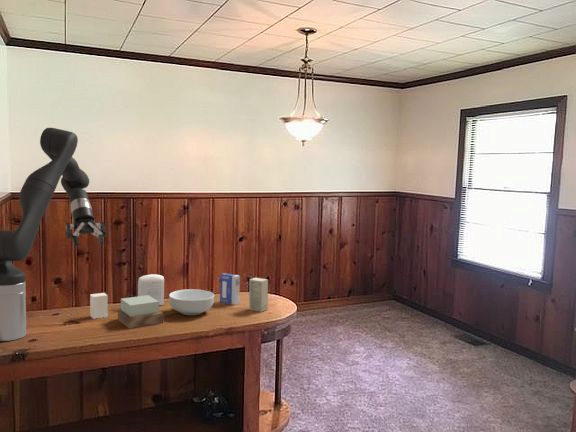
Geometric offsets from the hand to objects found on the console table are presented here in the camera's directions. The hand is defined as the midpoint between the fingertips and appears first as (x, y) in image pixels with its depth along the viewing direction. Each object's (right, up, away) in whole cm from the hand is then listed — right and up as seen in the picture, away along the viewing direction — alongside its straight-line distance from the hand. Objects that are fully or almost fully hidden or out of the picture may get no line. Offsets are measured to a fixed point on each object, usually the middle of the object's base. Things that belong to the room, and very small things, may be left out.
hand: (89, 245), depth 184 cm
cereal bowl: (+38, -26, +1) cm, 46 cm away
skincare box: (+63, -26, +7) cm, 69 cm away
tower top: (+23, -23, -12) cm, 34 cm away
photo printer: (+21, -24, +8) cm, 33 cm away
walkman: (+51, -25, +16) cm, 59 cm away
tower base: (+23, -27, -12) cm, 37 cm away
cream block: (+7, -25, -9) cm, 27 cm away
